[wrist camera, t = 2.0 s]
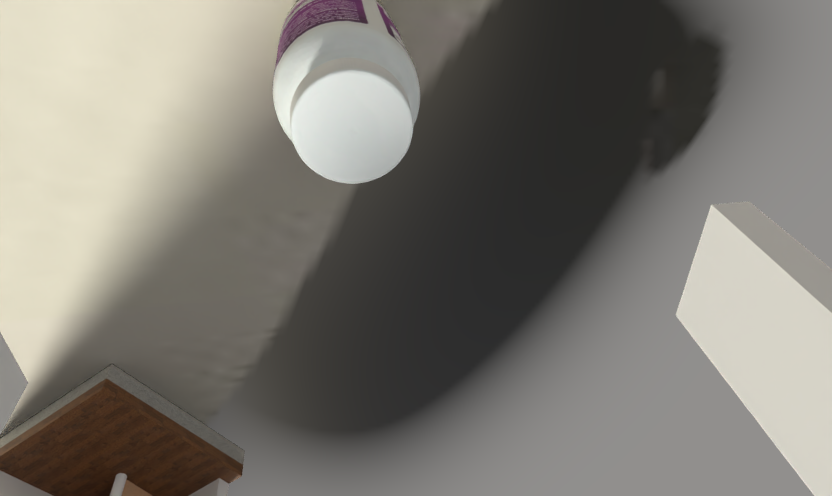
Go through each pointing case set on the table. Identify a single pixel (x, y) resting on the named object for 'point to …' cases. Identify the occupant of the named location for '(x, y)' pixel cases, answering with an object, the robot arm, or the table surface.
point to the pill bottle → (345, 88)
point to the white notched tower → (116, 446)
